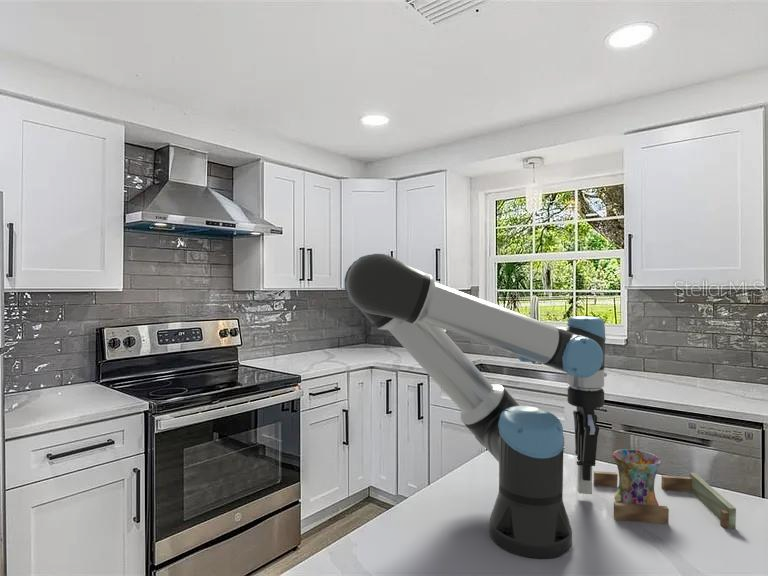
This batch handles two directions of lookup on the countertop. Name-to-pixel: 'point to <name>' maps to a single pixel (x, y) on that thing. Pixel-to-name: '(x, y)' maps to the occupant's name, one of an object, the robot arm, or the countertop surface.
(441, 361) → the robot arm
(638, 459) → the mug
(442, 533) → the countertop surface
